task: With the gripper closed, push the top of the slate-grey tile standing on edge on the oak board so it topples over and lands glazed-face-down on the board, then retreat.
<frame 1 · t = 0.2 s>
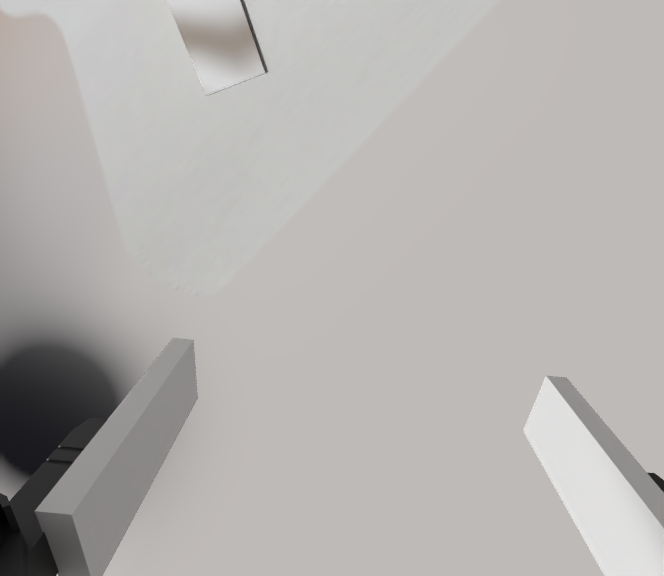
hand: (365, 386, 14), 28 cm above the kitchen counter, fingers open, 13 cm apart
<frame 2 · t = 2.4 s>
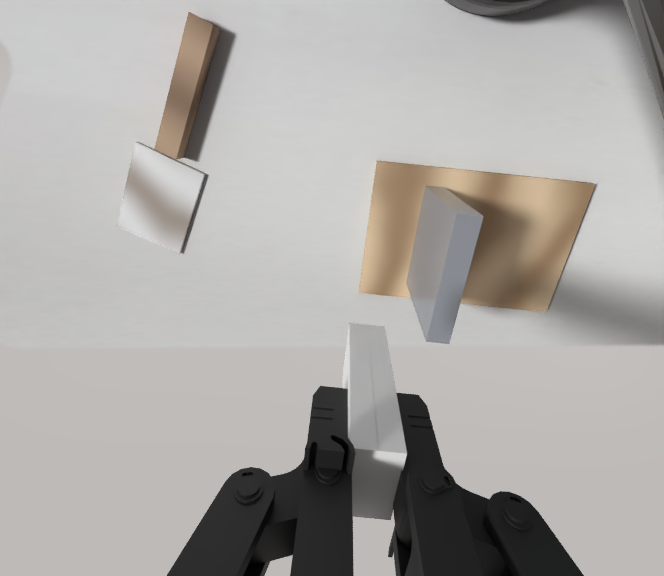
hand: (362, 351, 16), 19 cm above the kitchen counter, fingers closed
board: (466, 240, 33), on the kitchen counter
turner: (173, 152, 31), on the kitchen counter
tile: (424, 237, 33), point 1 cm above the kitchen counter, touching board
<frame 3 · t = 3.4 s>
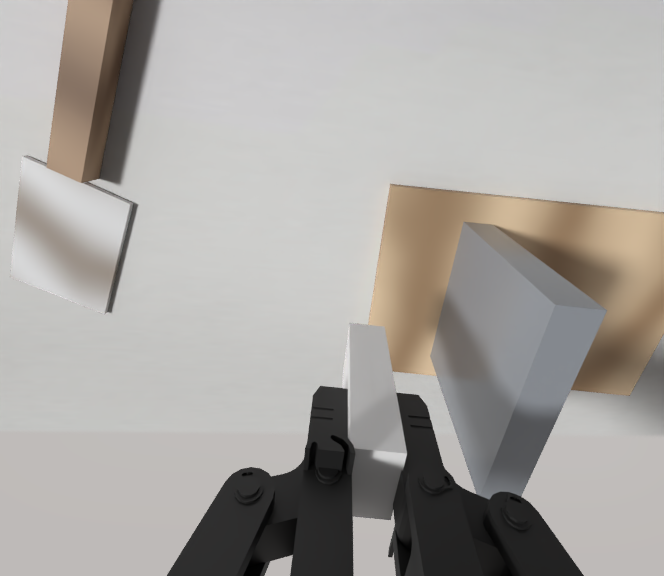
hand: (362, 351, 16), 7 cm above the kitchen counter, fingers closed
board: (519, 298, 23), on the kitchen counter
turner: (83, 171, 21), on the kitchen counter
tile: (458, 296, 22), point 1 cm above the kitchen counter, touching board
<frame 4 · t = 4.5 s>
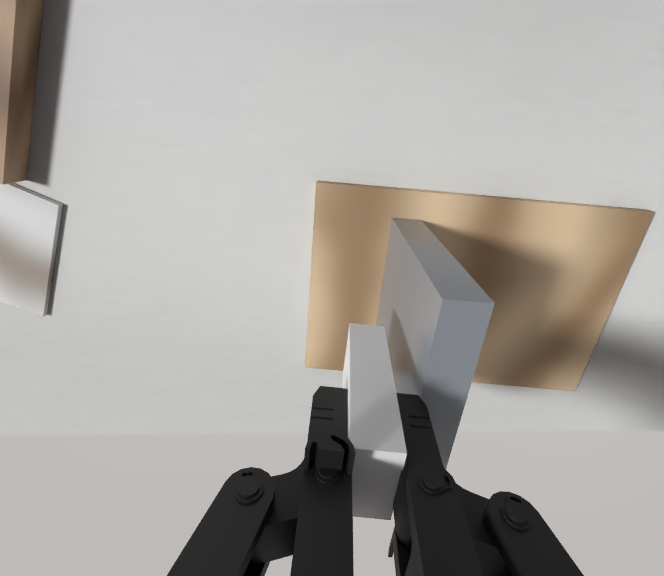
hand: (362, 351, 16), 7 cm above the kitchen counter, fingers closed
board: (457, 294, 23), on the kitchen counter
turner: (10, 172, 21), on the kitchen counter
tile: (394, 292, 22), point 1 cm above the kitchen counter, touching board, gripper
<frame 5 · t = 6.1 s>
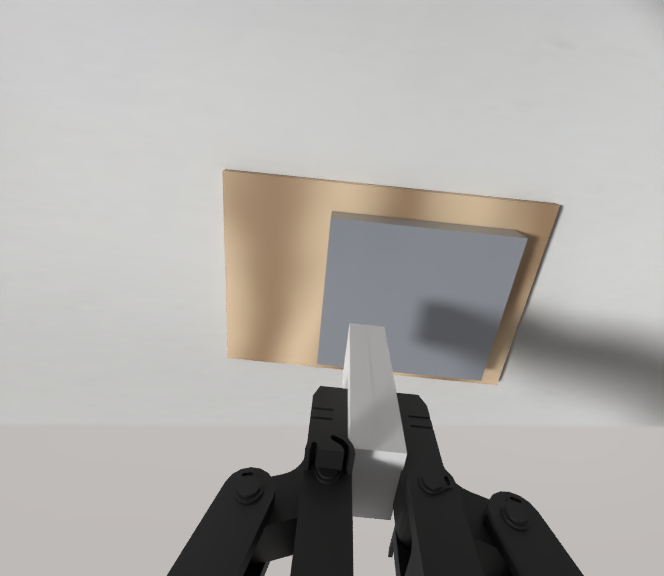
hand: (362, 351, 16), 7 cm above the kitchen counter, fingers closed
board: (374, 286, 23), on the kitchen counter
tile: (324, 291, 21), point 2 cm above the kitchen counter, tilted 90°, touching board
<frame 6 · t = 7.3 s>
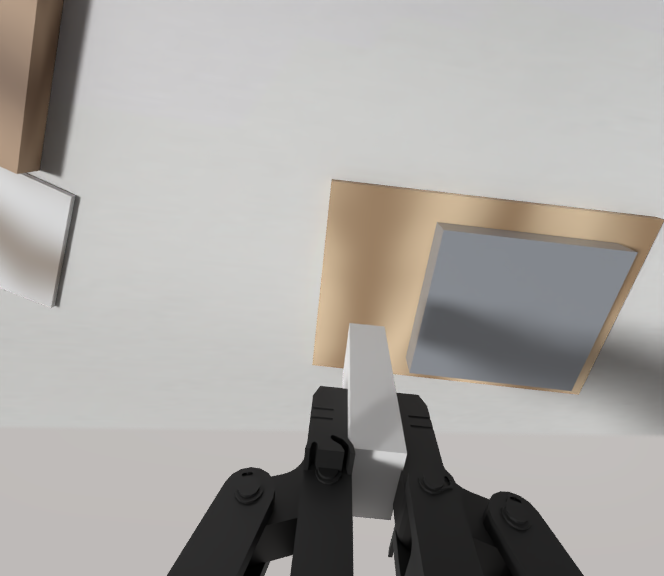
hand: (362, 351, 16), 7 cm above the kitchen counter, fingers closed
board: (466, 295, 23), on the kitchen counter
turner: (23, 162, 21), on the kitchen counter
tile: (422, 301, 21), point 2 cm above the kitchen counter, tilted 90°, touching board
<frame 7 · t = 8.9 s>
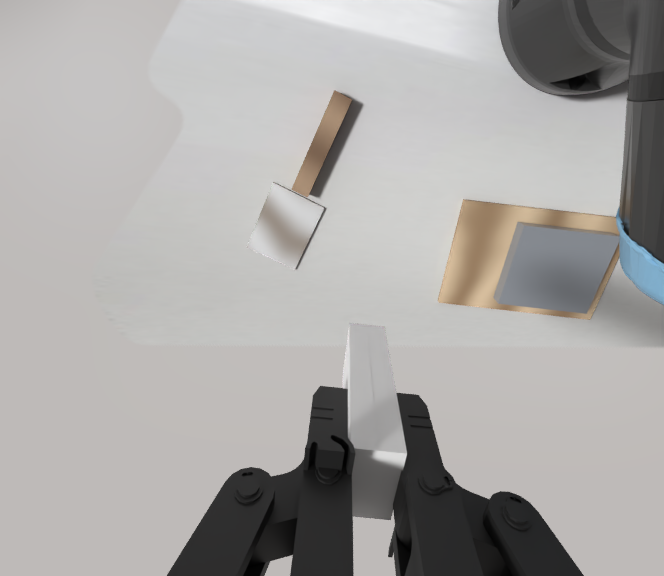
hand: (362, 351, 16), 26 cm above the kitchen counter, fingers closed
board: (529, 261, 42), on the kitchen counter
turner: (301, 190, 40), on the kitchen counter
tile: (507, 263, 40), point 2 cm above the kitchen counter, tilted 90°, touching board
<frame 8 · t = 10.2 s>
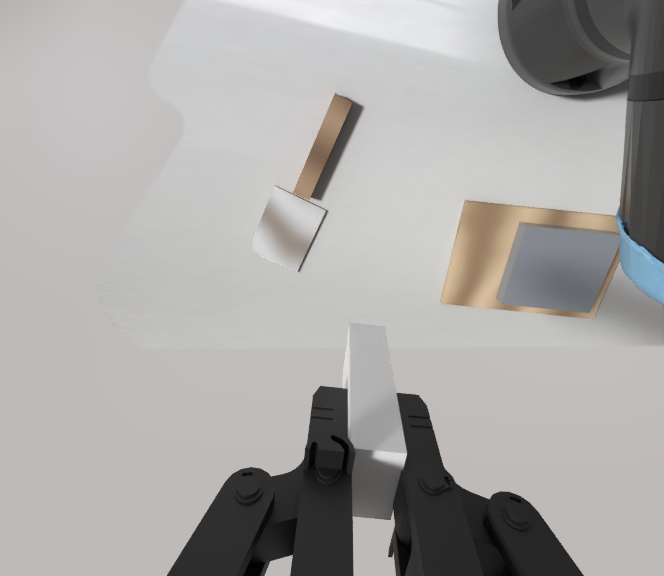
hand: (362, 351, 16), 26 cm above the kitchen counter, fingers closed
board: (531, 262, 42), on the kitchen counter
turner: (302, 193, 40), on the kitchen counter
tile: (509, 264, 40), point 2 cm above the kitchen counter, tilted 90°, touching board
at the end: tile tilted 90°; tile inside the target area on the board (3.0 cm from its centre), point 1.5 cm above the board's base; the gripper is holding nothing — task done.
